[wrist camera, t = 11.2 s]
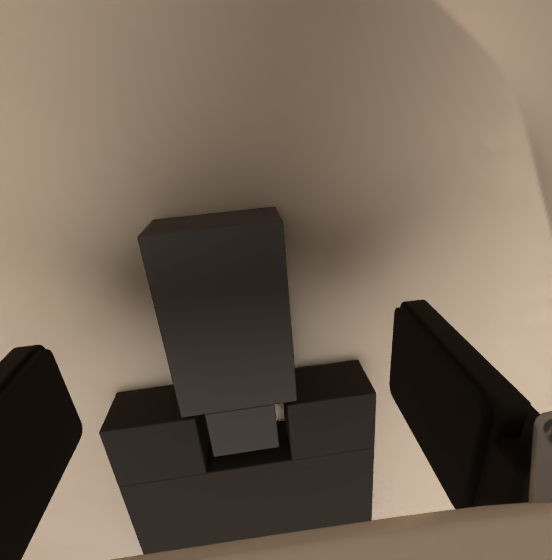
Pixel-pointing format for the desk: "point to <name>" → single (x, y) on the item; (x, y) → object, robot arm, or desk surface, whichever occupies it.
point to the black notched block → (245, 465)
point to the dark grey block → (224, 320)
